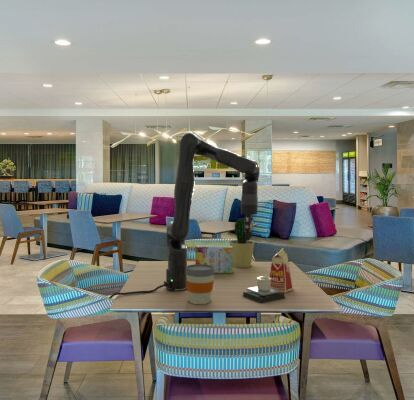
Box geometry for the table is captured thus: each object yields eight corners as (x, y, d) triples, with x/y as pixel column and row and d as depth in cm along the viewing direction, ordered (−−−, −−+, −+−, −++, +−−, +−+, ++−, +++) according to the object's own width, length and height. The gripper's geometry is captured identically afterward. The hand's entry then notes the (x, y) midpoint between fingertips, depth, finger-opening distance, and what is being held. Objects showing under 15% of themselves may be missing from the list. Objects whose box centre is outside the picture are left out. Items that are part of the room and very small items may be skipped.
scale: (260, 302, 175) (261, 296, 174) (243, 296, 185) (243, 290, 185) (284, 297, 182) (284, 291, 182) (266, 291, 192) (266, 285, 192)
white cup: (263, 291, 179) (263, 280, 179) (254, 288, 184) (254, 277, 184) (273, 289, 182) (273, 278, 182) (264, 286, 187) (264, 276, 187)
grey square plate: (262, 295, 176) (262, 293, 176) (246, 289, 185) (246, 288, 185) (281, 292, 181) (281, 290, 181) (264, 286, 191) (264, 284, 191)
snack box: (232, 271, 234) (232, 245, 233) (232, 273, 228) (232, 247, 228) (196, 270, 236) (196, 245, 235) (195, 272, 230) (195, 246, 230)
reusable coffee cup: (212, 296, 184) (213, 264, 183) (215, 305, 171) (215, 270, 170) (185, 297, 183) (185, 264, 182) (185, 305, 171) (185, 270, 170)
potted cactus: (255, 263, 256) (256, 216, 254) (252, 268, 241) (253, 218, 239) (231, 262, 260) (231, 215, 258) (227, 267, 245) (227, 217, 244)
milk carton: (276, 286, 202) (276, 246, 201) (293, 289, 196) (293, 248, 195) (267, 290, 195) (267, 248, 194) (284, 293, 189) (285, 250, 188)
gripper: (243, 202, 194) (242, 236, 194) (239, 204, 180) (238, 240, 181) (258, 203, 192) (257, 237, 193) (256, 204, 178) (255, 241, 179)
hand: (248, 238), depth 187 cm, fingers open, 8 cm apart
